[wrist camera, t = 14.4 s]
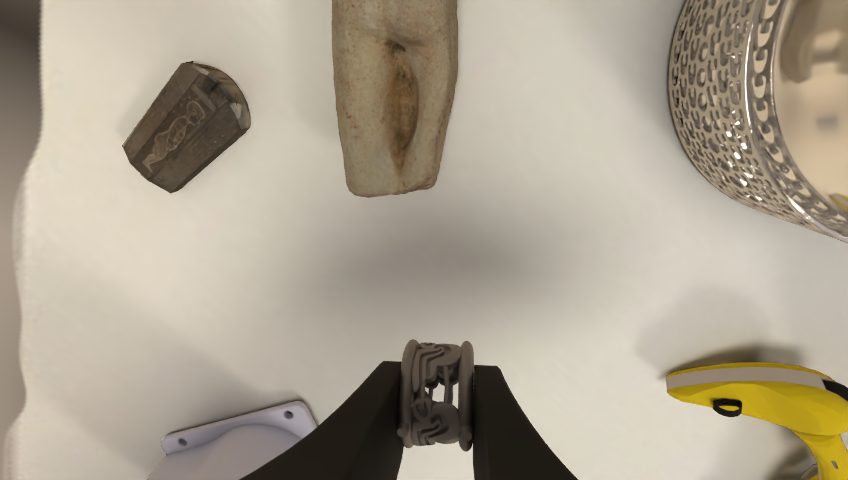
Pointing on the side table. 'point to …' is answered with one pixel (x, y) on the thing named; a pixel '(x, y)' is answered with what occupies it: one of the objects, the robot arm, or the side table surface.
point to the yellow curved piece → (776, 404)
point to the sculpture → (393, 90)
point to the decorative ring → (415, 406)
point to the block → (187, 126)
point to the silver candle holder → (767, 104)
